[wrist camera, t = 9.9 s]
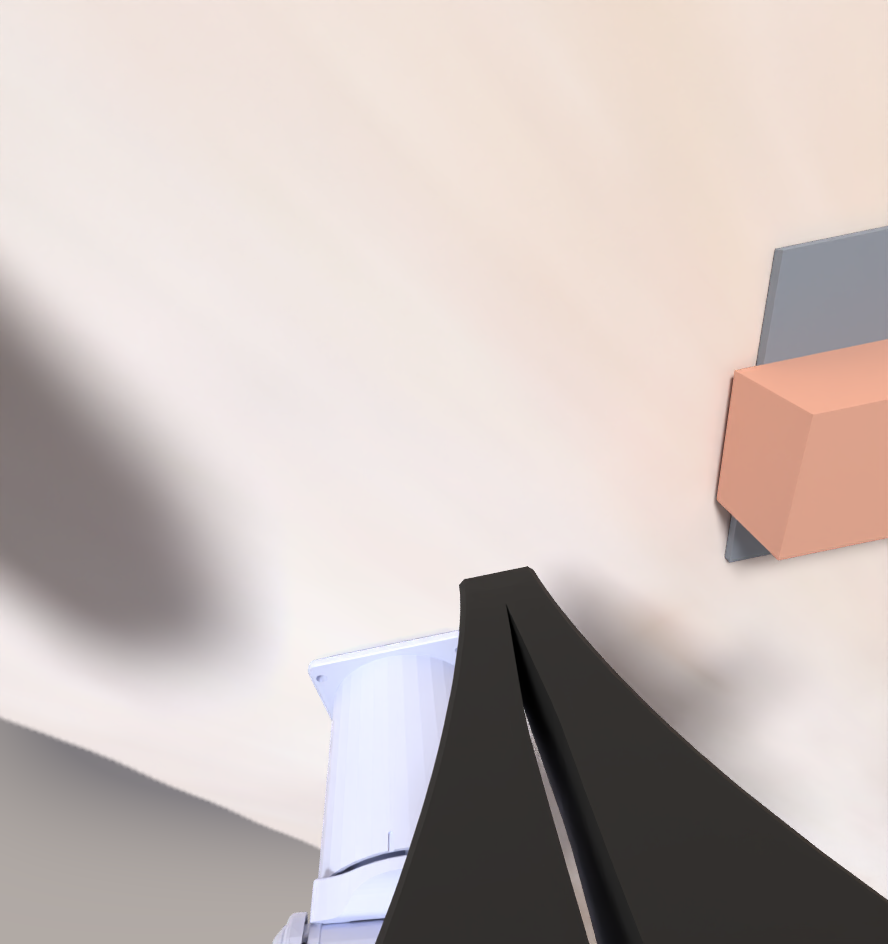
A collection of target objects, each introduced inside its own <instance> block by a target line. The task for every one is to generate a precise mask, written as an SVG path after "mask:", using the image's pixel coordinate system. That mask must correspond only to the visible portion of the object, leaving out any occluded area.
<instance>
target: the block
mask: <svg viewBox="0 0 888 944" xmlns="http://www.w3.org/2000/svg"><path fill="white" fill-rule="evenodd" d="M717 501H718V502H719V503H720V504H721V505H722V506H723V507H724V508H725V509H726V510H727V511H728V512H729V513H731V514H732V515H733V516H734V517H735V518H736V519H737V520H738V521H739V522H740V523H741V524H742V525H743V526H744V527H745V528H746V529H747V530H748V531H749V532H750V533H751V534H752V535H753V536H754V537H755V538H756V539H757V540H758V541H759V542H760V543H761V544H762V545H763V546H764V547H765V548H766V549H767V550H768V551H769V552H770V553H771V554H772V555H773V556H774V557H775V558H776V559H777V560H783V559H787V558H792V557H797V556H802V555H807V554H812V553H817V552H821V551H826V550H831V549H836V548H841V547H846V546H851V545H855V544H860V543H865V542H870V541H875V540H880V539H885V538H888V339H886V340H881V341H876V342H871V343H866V344H861V345H856V346H851V347H847V348H842V349H837V350H832V351H827V352H822V353H817V354H812V355H808V356H803V357H798V358H793V359H788V360H783V361H778V362H773V363H768V364H764V365H759V366H754V367H749V368H744V369H739V370H735V372H734V379H733V386H732V393H731V400H730V407H729V415H728V422H727V429H726V436H725V443H724V450H723V457H722V464H721V471H720V478H719V486H718V493H717Z"/></svg>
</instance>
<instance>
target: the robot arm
mask: <svg viewBox="0 0 888 944" xmlns="http://www.w3.org/2000/svg"><path fill="white" fill-rule="evenodd" d="M459 589H460V627H459V631H453V632H449V633H444V634H439V635H434V636H429V637H424V638H419V639H415V640H410V641H405V642H400V643H395V644H390V645H385V646H381V647H376V648H371V649H366V650H361V651H356V652H351V653H347V654H342V655H337V656H332V657H327V658H322V659H317V660H314V661H312V662H311V663H310V664H309V667H308V674H309V676H310V678H311V680H312V682H313V684H314V686H315V688H316V690H317V692H318V694H319V696H320V698H321V700H322V702H323V704H324V706H325V708H326V710H327V712H328V714H329V716H330V718H331V720H332V729H331V740H330V751H329V763H328V774H327V785H326V797H325V808H324V819H323V831H322V842H321V853H320V865H319V877H318V879H315V880H314V883H313V894H312V904H311V915H310V924H308V917H307V912H298V913H294V914H292V915H291V916H290V917H289V919H288V922H287V925H285V926H284V927H283V928H282V929H281V930H280V932H279V933H278V934H277V935H276V936H275V938H274V940H273V943H272V944H589V941H588V938H587V935H586V931H585V928H584V924H583V921H582V917H581V914H580V911H579V907H578V904H577V900H576V897H575V893H574V890H573V887H572V883H571V880H570V876H569V873H568V870H567V866H566V863H565V859H564V856H563V852H562V849H561V845H560V842H559V838H558V835H557V831H556V828H555V824H554V821H553V817H552V814H551V810H550V807H549V803H548V800H547V796H546V793H545V789H544V785H543V782H542V778H541V775H540V771H539V768H538V764H537V760H536V757H535V753H534V750H533V746H532V743H531V739H530V735H529V731H528V726H527V722H526V717H525V713H526V716H527V719H528V722H529V724H530V727H531V730H532V733H533V736H534V739H535V742H536V745H537V747H538V750H539V753H540V756H541V759H542V762H543V765H544V767H545V770H546V773H547V776H548V779H549V782H550V785H551V787H552V790H553V793H554V796H555V799H556V802H557V805H558V807H559V810H560V813H561V816H562V819H563V822H564V825H565V828H566V832H567V835H568V838H569V841H570V844H571V848H572V851H573V854H574V858H575V862H576V866H577V869H578V873H579V877H580V881H581V884H582V888H583V892H584V896H585V899H586V903H587V907H588V911H589V914H590V918H591V922H592V926H593V930H594V933H595V937H596V941H597V944H888V900H887V899H886V898H884V897H883V896H882V895H880V894H879V893H878V892H876V891H875V890H873V889H872V888H871V887H869V886H868V885H867V884H865V883H864V882H863V881H861V880H860V879H858V878H857V877H856V876H854V875H853V874H852V873H850V872H849V871H848V870H846V869H845V868H844V867H842V866H841V865H839V864H838V863H837V862H835V861H834V860H833V859H831V858H830V857H829V856H827V855H826V854H824V853H823V852H822V851H820V850H819V849H818V848H817V847H815V846H814V845H813V844H812V843H810V842H809V841H808V840H807V839H805V838H804V837H803V836H801V835H800V834H799V833H798V832H796V831H795V830H794V829H793V828H791V827H790V826H789V825H787V824H786V823H785V822H784V821H782V820H781V819H780V818H779V817H777V816H776V815H775V814H774V813H772V812H771V811H770V810H768V809H767V808H766V807H765V806H763V805H762V804H761V803H760V802H758V801H757V800H756V799H754V798H753V797H752V796H751V795H749V794H748V793H747V792H746V791H744V790H743V789H742V788H741V787H739V786H738V785H737V784H736V783H735V782H733V781H732V780H731V779H730V778H729V777H728V776H726V775H725V774H724V773H723V772H722V771H721V770H719V769H718V768H717V767H716V766H715V765H714V764H712V763H711V762H710V761H709V760H708V759H707V758H705V757H704V756H703V755H702V754H701V753H700V752H698V751H697V750H696V749H695V748H694V747H693V746H692V745H691V744H690V743H688V742H687V741H686V740H685V739H684V738H683V737H682V736H681V735H680V734H678V733H677V732H676V731H675V730H674V729H673V728H672V727H671V726H670V725H669V724H668V723H666V722H665V721H664V720H663V719H662V718H661V717H660V716H659V715H658V714H657V713H656V712H655V711H654V710H653V709H652V708H651V707H650V706H649V705H648V704H647V703H646V702H645V701H644V700H643V699H642V698H641V697H640V696H639V695H638V694H637V693H636V692H635V691H634V690H633V689H632V688H631V687H630V686H629V685H628V684H627V683H626V682H625V681H624V680H623V679H622V678H621V677H620V676H619V675H618V674H617V673H616V672H615V671H614V670H613V669H612V667H611V666H610V665H609V664H608V663H607V662H606V661H605V660H604V659H603V658H602V657H601V655H600V654H599V653H598V652H597V651H596V650H595V649H594V648H593V646H592V645H591V644H590V643H589V642H588V641H587V640H586V639H585V637H584V636H583V635H582V634H581V633H580V632H579V631H578V629H577V628H576V627H575V626H574V625H573V623H572V622H571V621H570V620H569V618H568V617H567V616H566V615H565V613H564V612H563V611H562V610H561V608H560V607H559V606H558V605H557V603H556V602H555V601H554V599H553V598H552V597H551V595H550V594H549V592H548V591H547V590H546V588H545V587H544V585H543V584H542V582H541V581H540V579H539V578H538V576H537V575H536V573H535V571H534V570H533V569H531V568H529V567H528V566H527V567H522V568H517V569H512V570H508V571H503V572H498V573H493V574H488V575H483V576H478V577H474V578H469V579H464V580H463V581H462V582H461V584H460V585H459ZM523 707H524V708H523ZM524 710H525V713H524Z"/></svg>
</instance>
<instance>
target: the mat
mask: <svg viewBox="0 0 888 944" xmlns="http://www.w3.org/2000/svg"><path fill="white" fill-rule="evenodd" d="M886 339H888V226H885V227H880V228H875V229H870V230H866V231H861V232H856V233H851V234H846V235H841V236H836V237H831V238H826V239H821V240H817V241H812V242H807V243H802V244H797V245H792V246H787V247H782V248H777V249H775V253H774V259H773V265H772V272H771V278H770V284H769V290H768V296H767V302H766V308H765V314H764V320H763V326H762V333H761V339H760V345H759V351H758V357H757V363H756V366H759V365H764V364H768V363H773V362H778V361H783V360H788V359H793V358H798V357H803V356H808V355H812V354H817V353H822V352H827V351H832V350H837V349H842V348H847V347H851V346H856V345H861V344H866V343H871V342H876V341H881V340H886ZM769 554H771V553H770V552H769V551H768V550H767V549H766V548H765V547H764V546H763V545H762V544H761V543H760V542H759V541H758V540H757V539H756V538H755V537H754V536H753V535H752V534H751V533H750V532H749V531H748V530H747V529H746V528H745V527H744V526H743V525H742V524H741V523H740V522H739V521H738V520H737V519H736V518H735V517H734V516H733V515H732V516H731V522H730V528H729V534H728V540H727V546H726V553H725V558H726V559H727V560H728V561H729V562H735V561H740V560H745V559H749V558H754V557H759V556H764V555H769Z"/></svg>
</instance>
